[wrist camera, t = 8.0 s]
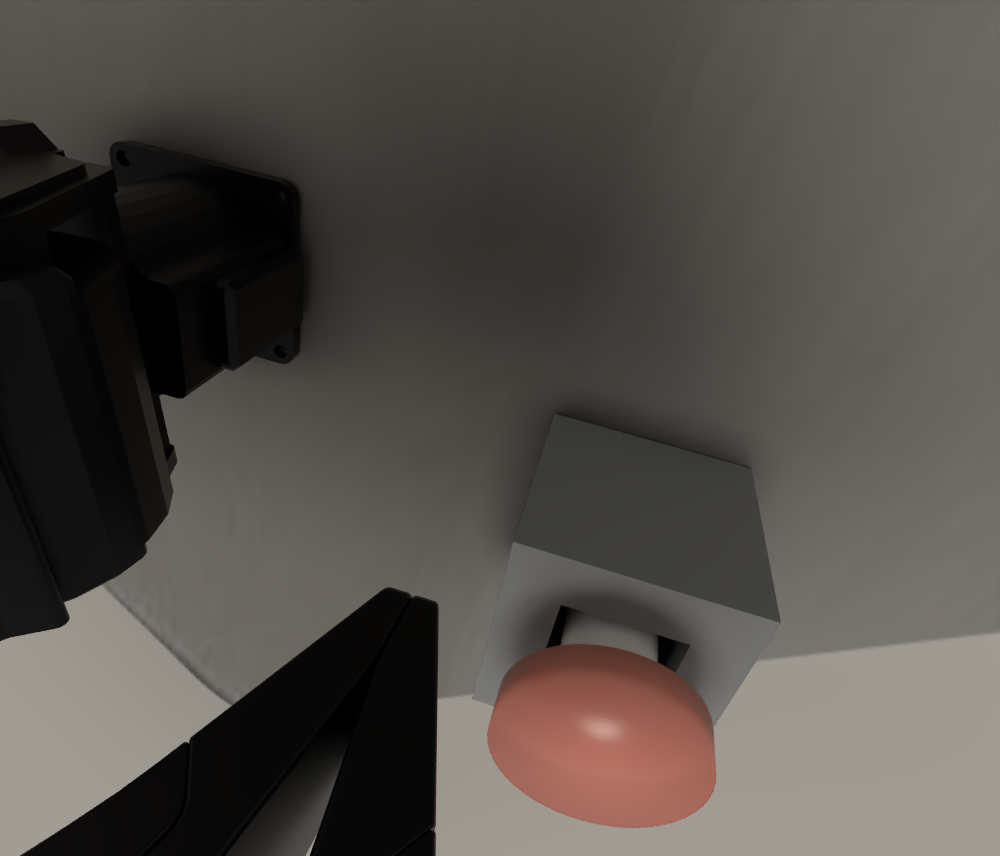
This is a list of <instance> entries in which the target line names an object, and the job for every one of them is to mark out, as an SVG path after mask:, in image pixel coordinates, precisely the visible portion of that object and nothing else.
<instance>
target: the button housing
mask: <svg viewBox="0 0 1000 856" xmlns="http://www.w3.org/2000/svg"><path fill="white" fill-rule="evenodd" d="M568 607H570V608H573V609H576V610H579V611H582V612H586V613H589V614H592V615H595V616H599V617H602V618H605V619H608V620H611V621H615V622H618V623H621V624H624V625H627V626H631V627H634V628H637V629H640V630H644V631H647V632H650V633H653V634H656V635H658V663H660V664H662V665H663V666H665V667H667V668H668V669H670V670H672V671H673V672H675V673H676V674H677V675H679V676H680V677H682V678H683V679H684V680H685V681H686V682H688V683H689V684H690V685H691V686H692V687H693V688H694V689H695V690H696V692H697V693H698V694H699V695H700V696H701V698H702V699H703V701H704V702H705V704H706V706H707V707H708V710H709V712H710V715H711V717H712V722H713V727H714V726H715V724H716V723H717V721H718V720H719V718H720V717H721V715H722V713H723V712H724V710H725V709H726V707H727V706H728V704H729V703H730V701H731V699H732V698H733V696H734V695H735V693H736V692H737V690H738V689H739V687H740V686H741V684H742V682H743V681H744V679H745V678H746V676H747V675H748V673H749V672H750V670H751V668H752V667H753V665H754V664H755V662H756V661H757V659H758V658H759V656H760V654H761V653H762V651H763V650H764V648H765V647H766V645H767V644H768V642H769V641H770V639H771V637H772V636H773V634H774V633H775V631H776V630H777V628H778V627H779V625H780V623H781V622H780V616H779V611H778V606H777V601H776V595H775V590H774V585H773V580H772V575H771V569H770V564H769V559H768V554H767V549H766V543H765V538H764V533H763V528H762V522H761V517H760V512H759V507H758V502H757V496H756V491H755V486H754V481H753V475H752V470H751V468H748V467H745V466H741V465H737V464H734V463H730V462H727V461H723V460H720V459H716V458H712V457H709V456H705V455H702V454H698V453H695V452H691V451H687V450H684V449H680V448H677V447H673V446H669V445H666V444H662V443H659V442H655V441H652V440H648V439H644V438H641V437H637V436H634V435H630V434H627V433H623V432H619V431H616V430H612V429H609V428H605V427H602V426H598V425H594V424H591V423H587V422H584V421H580V420H577V419H573V418H569V417H566V416H562V415H559V414H554V418H553V421H552V424H551V427H550V430H549V433H548V436H547V439H546V442H545V445H544V448H543V451H542V454H541V457H540V461H539V464H538V467H537V470H536V473H535V476H534V479H533V482H532V485H531V488H530V491H529V494H528V497H527V500H526V504H525V507H524V510H523V513H522V516H521V519H520V522H519V525H518V528H517V531H516V534H515V537H514V540H513V544H512V548H511V551H510V555H509V559H508V563H507V567H506V571H505V574H504V578H503V582H502V586H501V590H500V594H499V597H498V601H497V605H496V609H495V613H494V617H493V621H492V624H491V628H490V632H489V636H488V640H487V644H486V647H485V651H484V655H483V659H482V663H481V667H480V670H479V674H478V678H477V682H476V686H475V690H474V693H473V697H472V699H474V700H478V701H481V702H483V703H487V704H489V705H492V706H494V705H495V701H496V698H497V694H498V690H499V687H500V684H501V682H502V679H503V677H504V676H505V674H506V673H507V671H508V670H509V669H510V668H511V667H512V666H513V665H514V664H515V663H516V662H518V661H519V660H521V659H522V658H523V657H525V656H527V655H529V654H531V653H533V652H536V651H539V650H542V649H545V648H549V647H554V646H560V645H561V640H562V635H563V630H564V625H565V619H566V614H567V609H568Z"/></svg>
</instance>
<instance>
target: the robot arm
mask: <svg viewBox="0 0 1000 856" xmlns="http://www.w3.org/2000/svg"><path fill="white" fill-rule="evenodd" d="M125 153H127V154H128V155H129V157H130V160H131V161H130V163H129V161H128V160H127V159H126V156H125ZM110 160H111V166H112V167H109V166H104V165H97V164H91V163H85V162H82V161H78V160H75V159H71V158H67V157H65V154H64V150H59V149H58V148H57V147H56V146H55V145H54V144H53V143H52V142H51V141H50V140H49V139H48V138H47V137H46V136H45V135H44V134H43V133H42V131H41V130H40V129H39V128H38V127H37V126H36V125H35V124H34V123H31V122H24V121H18V120H1V121H0V641H1V640H4V639H7V638H10V637H15V636H20V635H25V634H30V633H35V632H41V631H46V630H50V629H55V628H60V627H62V626H63V625H65V624H66V623H67V622H68V621H69V614H68V612H67V609H66V607H65V604H64V602H66V601H69V600H72V599H75V598H77V597H79V596H81V595H83V594H84V593H87V592H88V591H90V590H92V589H94V588H96V587H98V586H100V585H102V584H104V583H106V582H108V581H110V580H112V579H114V578H116V577H117V576H119V575H120V574H121V573H123V572H124V571H125V570H127V569H128V568H129V567H131V566H132V565H133V564H135V563H136V562H137V561H139V560H140V559H142V558H143V557H144V555H145V554H146V553H147V547H146V542H147V541H148V540H149V539H150V538H151V536H152V535H153V534H154V532H155V531H156V530H157V528H158V527H159V526H160V524H161V523H162V522H163V520H164V519H165V518H166V516H167V515H168V512H169V508H170V503H171V499H172V495H173V488H172V484H171V479H170V475H171V473H172V471H173V469H174V467H175V465H176V463H177V458H176V453H175V449H174V446H173V445H171V444H170V443H169V438H168V434H167V429H166V425H165V420H164V416H163V411H162V407H161V402H160V398H159V396H160V395H162V394H165V395H168V396H172V397H175V398H182V399H183V398H184V397H185V396H187V395H188V394H190V393H191V392H192V391H194V390H195V389H197V388H198V387H200V386H201V385H202V384H204V383H205V382H207V381H208V380H210V379H211V378H212V377H214V376H215V375H217V374H218V373H220V372H221V371H222V370H224V369H228V370H231V371H234V370H236V369H237V368H239V367H240V366H242V365H243V364H244V363H246V362H247V361H249V360H250V359H251V358H253V357H254V356H256V357H260V358H263V359H267V360H270V361H274V362H277V363H282V364H286V363H289V362H291V361H292V360H293V359H294V358H295V357H296V356H297V355H298V351H299V324H300V323H301V322H302V320H303V255H302V254H301V252H300V250H299V196H298V192H297V190H296V188H295V187H294V186H293V185H292V184H291V183H290V182H289V181H286V180H284V179H280V178H276V177H272V176H268V175H264V174H260V173H256V172H252V171H248V170H244V169H240V168H236V167H232V166H229V165H225V164H221V163H217V162H213V161H209V160H205V159H201V158H197V157H193V156H189V155H185V154H181V153H177V152H173V151H169V150H165V149H161V148H157V147H153V146H149V145H145V144H141V143H137V142H133V141H119V142H115V143H114V144H112V146H111V148H110ZM278 190H280V191H282V193H283V194H284V195H285V199H286V201H285V204H284V203H282V202H281V201H280V200H279V198H278V194H277V193H278ZM280 345H281V346H283V347H284V348H285V349H286V351H287V353H285V352H283V351H282V350H281V348H280ZM438 613H439V609H438V604H437V602H435V601H432V600H429V599H426V598H423V597H420V596H414V597H413V598H412V596H411V595H410V594H409V593H407V592H404V591H401V590H398V589H395V588H391V587H388V588H385V589H383V590H382V591H380V592H379V593H378V594H376V595H375V596H374V597H373V598H371V599H370V600H369V601H367V602H366V603H365V604H363V605H362V606H361V607H360V608H358V609H357V610H356V611H354V612H353V613H352V614H350V615H349V616H348V617H347V618H345V619H344V620H343V621H341V622H340V623H339V624H337V625H336V626H335V627H334V628H332V629H331V630H330V631H328V632H327V633H326V634H324V635H323V636H322V637H321V638H319V639H318V640H317V641H315V642H314V643H313V644H311V645H310V646H309V647H308V648H306V649H305V650H304V651H302V652H301V653H300V654H298V655H297V656H296V657H295V658H293V659H292V660H291V661H289V662H288V663H287V664H286V665H284V666H283V667H282V668H280V669H279V670H278V671H276V672H275V673H274V674H273V675H271V676H270V677H269V678H267V679H266V680H265V681H263V682H262V683H261V684H260V685H258V686H257V687H256V688H254V689H253V690H252V691H250V692H249V693H248V694H247V695H245V696H244V697H243V698H241V699H240V700H239V701H237V702H236V703H235V704H234V705H232V706H231V707H230V708H228V709H227V710H226V711H224V712H223V713H222V714H221V715H219V716H218V717H217V718H215V719H214V720H213V721H211V722H210V723H209V724H208V725H206V726H205V727H204V728H203V729H201V730H200V731H199V732H197V733H196V734H195V735H193V736H192V737H191V738H190V740H189V743H187V742H184V743H183V744H181V745H180V746H179V747H177V748H176V749H175V750H173V751H172V752H171V753H170V754H168V755H167V756H166V757H164V758H163V759H162V760H161V761H159V762H158V763H157V764H155V765H154V766H152V767H151V768H150V769H148V770H147V771H146V772H144V773H143V774H142V775H140V776H139V777H137V778H136V779H135V780H133V781H132V782H131V783H129V784H128V785H127V786H125V787H124V788H123V789H121V790H120V791H119V792H117V793H115V794H114V795H113V796H111V797H109V798H108V799H106V800H105V801H104V802H102V803H100V804H99V805H97V806H96V807H94V808H93V809H92V810H90V811H88V812H87V813H85V814H84V815H83V816H81V817H79V818H78V819H77V820H75V821H73V822H72V823H70V824H69V825H67V826H66V827H64V828H63V829H61V830H59V831H58V832H57V833H55V834H54V835H52V836H50V837H49V838H47V839H46V840H44V841H43V842H41V843H39V844H38V845H36V846H35V847H33V848H31V849H30V850H28V851H27V852H25V853H24V854H22V855H20V856H305V855H306V853H307V852H308V849H309V848H310V846H311V844H312V842H313V840H314V838H315V836H316V834H317V836H316V839H315V842H314V845H313V848H312V851H311V853H310V856H435V854H436V852H435V851H436V850H435V849H436V834H435V832H434V830H435V826H436V762H437V760H436V759H437V688H438Z"/></svg>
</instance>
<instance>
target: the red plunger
mask: <svg viewBox="0 0 1000 856" xmlns="http://www.w3.org/2000/svg"><path fill="white" fill-rule="evenodd" d="M487 734H488V735H487V736H488V746H489V750H490V753H491V755H492V758H493V760H494V762H495V763H496V765H497V766H498V768H499V770H500V771H501V772H502V773H503V774H504V776H505V777H506V778H507V779H508V780H509V781H510V782H511V783H512V784H514V786H516V787H517V788H518V789H519V790H521V791H522V792H523V793H525V794H526V795H527V796H529V797H530V798H532V799H533V800H535V801H537V802H539V803H541V804H542V805H544V806H546V807H548V808H550V809H552V810H554V811H556V812H559V813H562V814H564V815H567V816H569V817H573V818H576V819H579V820H582V821H586V822H590V823H595V824H600V825H606V826H614V827H624V828H641V827H653V826H660V825H665V824H669V823H673V822H676V821H678V820H681V819H684V818H686V817H688V816H689V815H691V814H693V813H695V812H696V811H698V810H699V809H700V808H701V807H702V806H704V804H705V803H706V802H707V801H708V800H709V798H710V797H711V795H712V793H713V791H714V787H715V784H716V762H715V746H714V730H713V722H712V717H711V715H710V712H709V710H708V707H707V706H706V704H705V702H704V701H703V699H702V698H701V696H700V695H699V694H698V693H697V692H696V690H695V689H694V688H693V687H692V686H691V685H690V684H689V683H688V682H686V681H685V680H684V679H683V678H682V677H680V676H679V675H677V674H676V673H675V672H673V671H672V670H670V669H668V668H667V667H665V666H663V665H662V664H660V663H658V635H656V634H653V633H650V632H647V631H644V630H640V629H637V628H634V627H631V626H627V625H624V624H621V623H618V622H615V621H611V620H608V619H605V618H602V617H599V616H595V615H592V614H589V613H586V612H582V611H579V610H576V609H573V608H570V607H568V609H567V614H566V619H565V625H564V630H563V635H562V640H561V645H560V646H554V647H549V648H545V649H542V650H539V651H536V652H533V653H531V654H529V655H527V656H525V657H523V658H522V659H521V660H519V661H518V662H516V663H515V664H514V665H513V666H512V667H511V668H510V669H509V670H508V671H507V673H506V674H505V676H504V677H503V679H502V682H501V684H500V687H499V690H498V694H497V698H496V701H495V705H494V709H493V713H492V716H491V720H490V724H489V728H488V733H487Z"/></svg>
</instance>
